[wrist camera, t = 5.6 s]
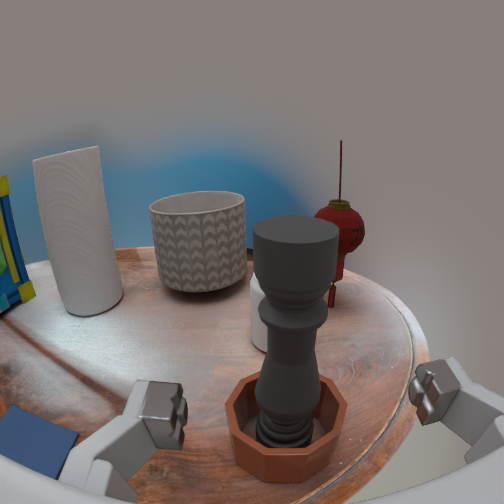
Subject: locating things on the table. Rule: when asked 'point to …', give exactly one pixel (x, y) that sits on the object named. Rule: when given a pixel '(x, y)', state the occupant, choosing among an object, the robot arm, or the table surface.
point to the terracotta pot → (283, 459)
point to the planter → (200, 240)
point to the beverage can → (257, 316)
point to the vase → (78, 230)
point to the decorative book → (11, 257)
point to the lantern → (342, 231)
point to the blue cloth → (35, 442)
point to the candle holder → (291, 322)
